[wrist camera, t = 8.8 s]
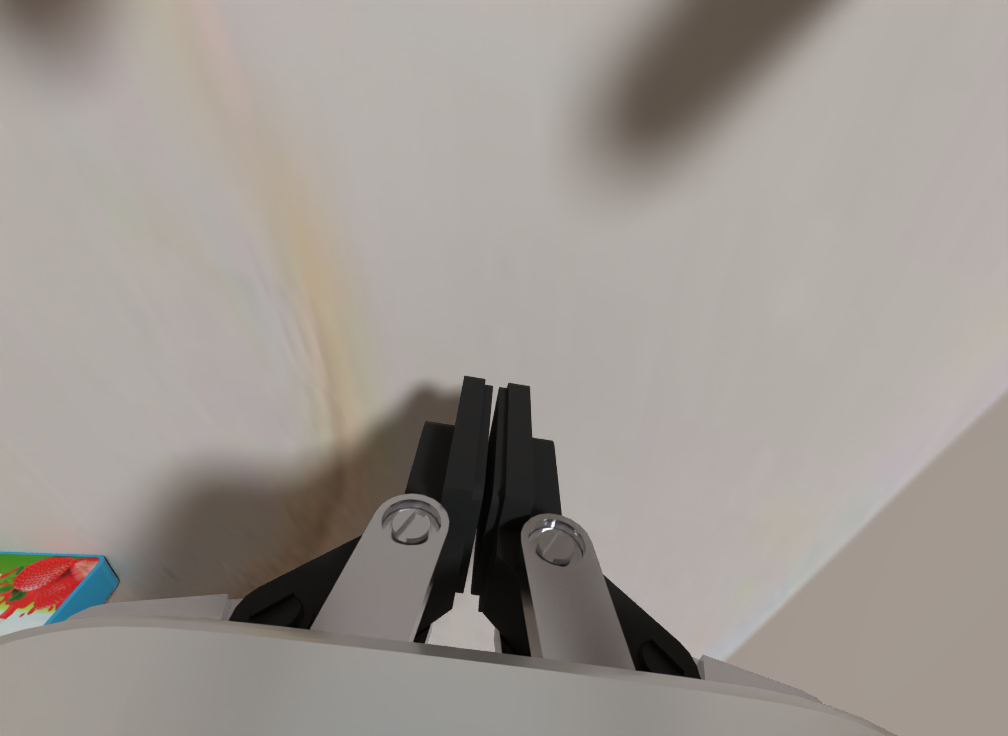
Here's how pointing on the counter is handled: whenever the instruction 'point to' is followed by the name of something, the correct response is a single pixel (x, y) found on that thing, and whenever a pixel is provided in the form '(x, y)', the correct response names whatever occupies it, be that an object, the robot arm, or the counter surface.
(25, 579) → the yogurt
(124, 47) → the counter surface
